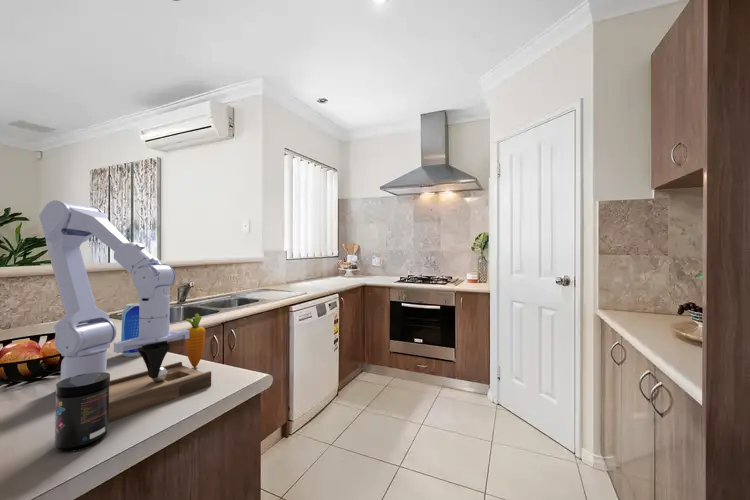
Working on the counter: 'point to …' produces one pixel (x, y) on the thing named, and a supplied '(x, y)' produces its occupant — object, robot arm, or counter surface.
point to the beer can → (130, 326)
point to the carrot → (195, 341)
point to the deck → (153, 389)
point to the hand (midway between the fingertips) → (154, 376)
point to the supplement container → (81, 411)
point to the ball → (161, 375)
